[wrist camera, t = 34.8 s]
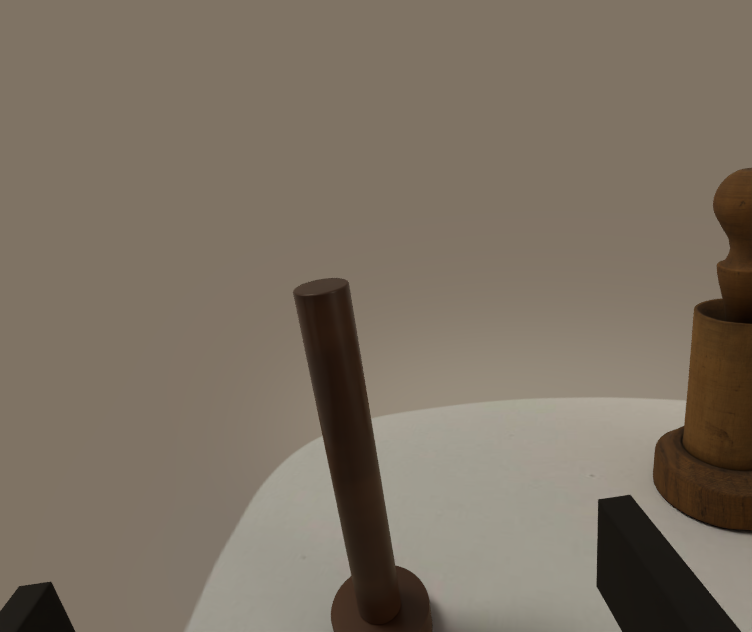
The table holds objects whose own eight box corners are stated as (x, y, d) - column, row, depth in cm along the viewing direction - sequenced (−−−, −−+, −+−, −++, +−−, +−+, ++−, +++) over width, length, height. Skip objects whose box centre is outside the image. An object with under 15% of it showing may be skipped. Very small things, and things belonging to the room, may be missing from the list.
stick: (328, 680, 21) (237, 314, 15) (342, 587, 25) (275, 276, 20) (434, 677, 20) (380, 298, 15) (430, 584, 25) (387, 262, 19)
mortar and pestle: (750, 453, 30) (792, 155, 24) (825, 532, 24) (906, 162, 18) (636, 457, 31) (650, 173, 25) (681, 533, 25) (713, 185, 19)
